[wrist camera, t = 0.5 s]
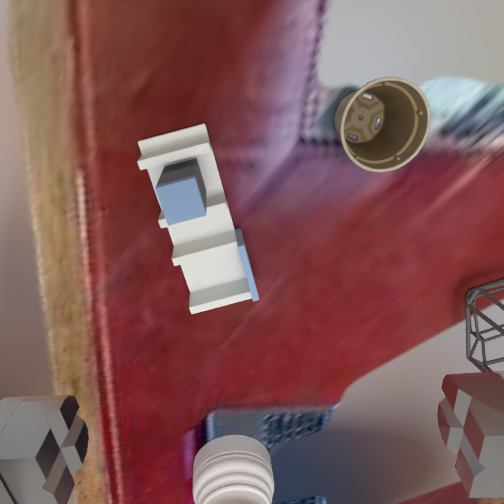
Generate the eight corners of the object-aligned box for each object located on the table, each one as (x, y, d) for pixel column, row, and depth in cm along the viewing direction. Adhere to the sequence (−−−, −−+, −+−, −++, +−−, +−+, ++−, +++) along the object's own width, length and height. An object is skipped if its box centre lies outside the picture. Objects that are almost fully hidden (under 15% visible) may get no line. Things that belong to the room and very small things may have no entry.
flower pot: (323, 162, 54) (343, 178, 46) (317, 81, 50) (338, 84, 42) (396, 150, 54) (429, 164, 46) (396, 69, 50) (432, 70, 42)
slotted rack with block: (138, 140, 50) (130, 149, 45) (211, 121, 50) (212, 127, 45) (195, 305, 60) (194, 329, 54) (257, 288, 60) (262, 311, 54)
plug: (164, 166, 51) (155, 188, 42) (196, 157, 51) (194, 177, 42) (174, 198, 53) (168, 225, 43) (206, 189, 53) (206, 215, 43)
